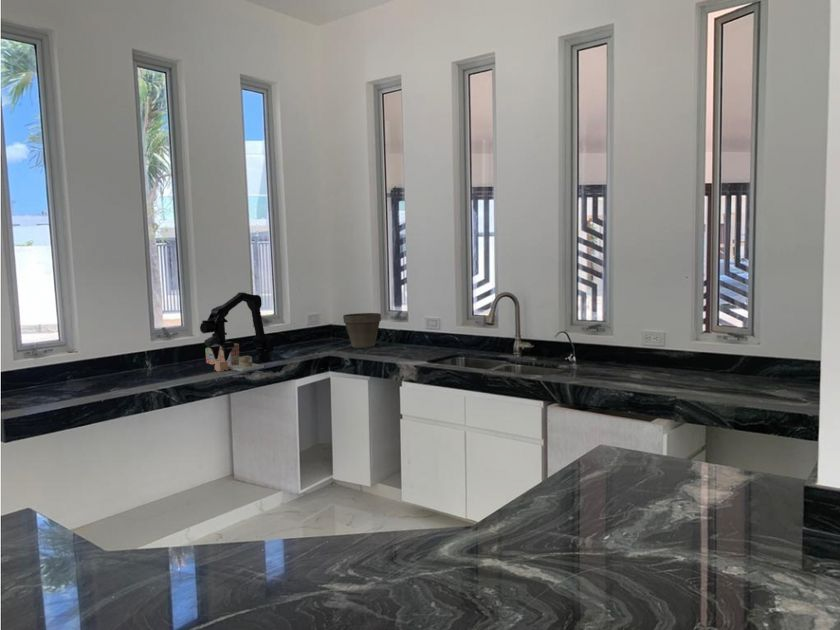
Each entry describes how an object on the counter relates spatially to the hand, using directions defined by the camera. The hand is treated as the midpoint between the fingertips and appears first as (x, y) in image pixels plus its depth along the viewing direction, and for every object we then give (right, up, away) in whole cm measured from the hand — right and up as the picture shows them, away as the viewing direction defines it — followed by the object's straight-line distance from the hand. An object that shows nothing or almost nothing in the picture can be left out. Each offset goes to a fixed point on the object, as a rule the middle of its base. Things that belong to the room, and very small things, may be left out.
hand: (221, 359), depth 361 cm
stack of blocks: (-6, -4, +22) cm, 23 cm away
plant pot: (+70, +3, +78) cm, 105 cm away
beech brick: (+12, -4, +4) cm, 13 cm away
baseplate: (+12, -5, +4) cm, 14 cm away
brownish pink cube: (0, -6, 0) cm, 6 cm away
